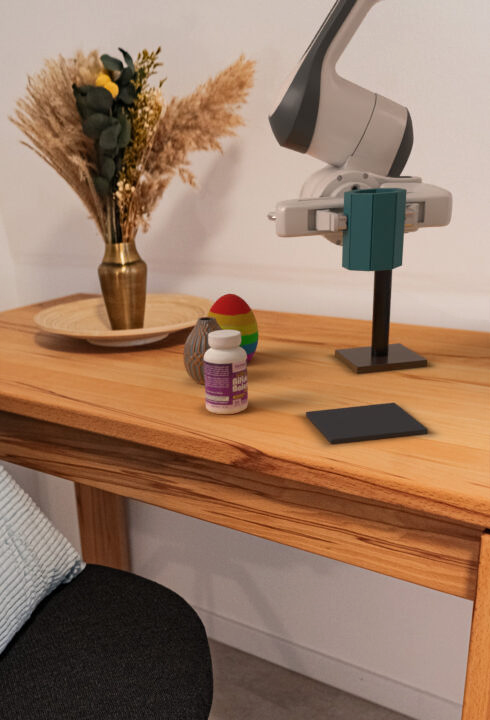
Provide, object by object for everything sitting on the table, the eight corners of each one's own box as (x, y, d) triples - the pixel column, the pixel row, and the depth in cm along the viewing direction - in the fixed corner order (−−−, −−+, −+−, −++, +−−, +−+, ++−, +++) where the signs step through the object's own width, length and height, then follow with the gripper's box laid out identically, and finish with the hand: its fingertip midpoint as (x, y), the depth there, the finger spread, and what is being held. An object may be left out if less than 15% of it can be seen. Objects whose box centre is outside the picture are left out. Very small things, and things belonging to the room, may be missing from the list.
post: (399, 349, 126) (404, 260, 120) (427, 366, 117) (433, 270, 111) (334, 356, 125) (336, 266, 119) (357, 374, 116) (360, 277, 110)
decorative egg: (193, 365, 126) (190, 297, 122) (223, 352, 132) (221, 287, 128) (240, 371, 121) (238, 301, 117) (268, 357, 127) (268, 290, 123)
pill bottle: (242, 416, 103) (240, 338, 99) (201, 414, 105) (197, 338, 101) (252, 402, 108) (250, 327, 104) (212, 401, 109) (209, 327, 105)
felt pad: (394, 407, 102) (394, 402, 102) (427, 434, 93) (428, 428, 93) (305, 416, 101) (305, 411, 101) (331, 444, 92) (331, 439, 92)
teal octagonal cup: (388, 259, 98) (392, 186, 94) (408, 268, 92) (413, 190, 89) (336, 264, 97) (338, 191, 94) (354, 272, 92) (356, 195, 88)
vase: (226, 388, 114) (223, 324, 110) (178, 387, 116) (174, 324, 113) (239, 374, 120) (237, 312, 116) (193, 373, 122) (190, 312, 118)
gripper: (264, 187, 103) (281, 197, 91) (431, 175, 103) (471, 183, 90) (265, 240, 106) (281, 257, 94) (428, 229, 106) (466, 243, 93)
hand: (376, 220), depth 92 cm, fingers closed on teal octagonal cup, 6 cm apart
